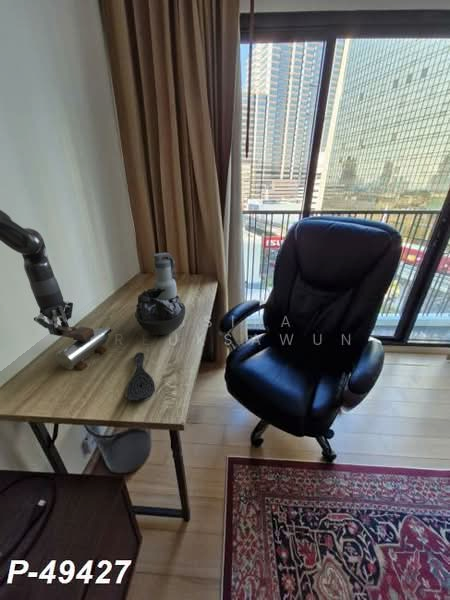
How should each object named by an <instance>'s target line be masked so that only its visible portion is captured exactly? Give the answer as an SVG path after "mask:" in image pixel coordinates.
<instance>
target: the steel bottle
mask: <svg viewBox="0 0 450 600" xmlns="http://www.w3.org/2000/svg"><path fill="white" fill-rule="evenodd" d="M93 331H94V336H93V337H92V338H90V339H89V340H88V341H86V342H82V341H77V340H74V341H73V342H71V344H69V345H68V346H66V347H65V348H63V349H62V350H60V351H58V352H57V353H56V360H57V362H59V364H60V365H61V366H62V367H63V368H64V369H67V370H73V369H75V370H79V371H83V370H85V369H86V368H88V363H87V362H84V361H85V360H86V359H87V358H89V357H90V356H91V355H93V354H94V353H95V354H98V355H101V356H102V355H104V354H105V353H106V352H107V351H108V350H107V347H104V345H106V344H107V341H108V339H109V336H110V334H111V333H112V331H113V330H112V328H111V327H110V326H106V327H105V328H102V327H100V328H93Z"/></svg>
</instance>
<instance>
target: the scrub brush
mask: <svg viewBox="0 0 450 600" xmlns="http://www.w3.org/2000/svg"><path fill="white" fill-rule="evenodd" d="M58 327H59V328H60V331H61V334H62V335H61V336H60V337H63V338H70V339H73V341H82V342H86V341H88V340H89V339H90V338H92V337H93V336H94V331H93V329H94V328H93V327H86V326H79V327H76V326H70V325H69V326H63V325H61V324H58ZM47 330H48V333H49V334H50V335H53V336H56V335H55V334H54V332H53V330H52V329H48V328H47Z"/></svg>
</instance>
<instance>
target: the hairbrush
mask: <svg viewBox="0 0 450 600" xmlns="http://www.w3.org/2000/svg"><path fill="white" fill-rule="evenodd" d="M133 359H134V361H135V366H136V367H135V371H134V373H133V374H132V376H131V379H130V381H129V382H128V383H127V388H126V399H127V400H128V401H129V402H130V403H138V402H143V401H145V400H147V399H149V398H151V397H152V396H153V395H154V393H155V391H156V386H155V381H154V379H153V377H152V376H151V375H150V373H149V372H147V371H146V369H144V360H145V353H144V352H141V351H139V352H137V353H136V354H134V357H133Z"/></svg>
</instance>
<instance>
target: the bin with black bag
mask: <svg viewBox="0 0 450 600" xmlns="http://www.w3.org/2000/svg"><path fill="white" fill-rule="evenodd" d="M164 291H166V289H161V288H157V289H155V287H152V288H148V289H147V290H143V291H142V292H141V293H140V294H139V295H138V296H137V304H136V306H135V307H136V309H135V312H134V313H135V314H134V317H135V320H136V322H137V324H138V326H140V328H141V329H143V330H144V331H145V332H147V333H148V334H150V335H155V336H163V335H168V334H170V333H173V332H175V331H176V330H178V328H179V327H180V326H181V325H182V323H183V322H184V319H185V316H186V306H185V304H184V303H183V302H182V301H181V298H180V297H179V295H178V294H177V296H176V297H174V298H170V299H164V300H159V299H157V298H158V297H159V295H160V294H161V293H162V292H164Z"/></svg>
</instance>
